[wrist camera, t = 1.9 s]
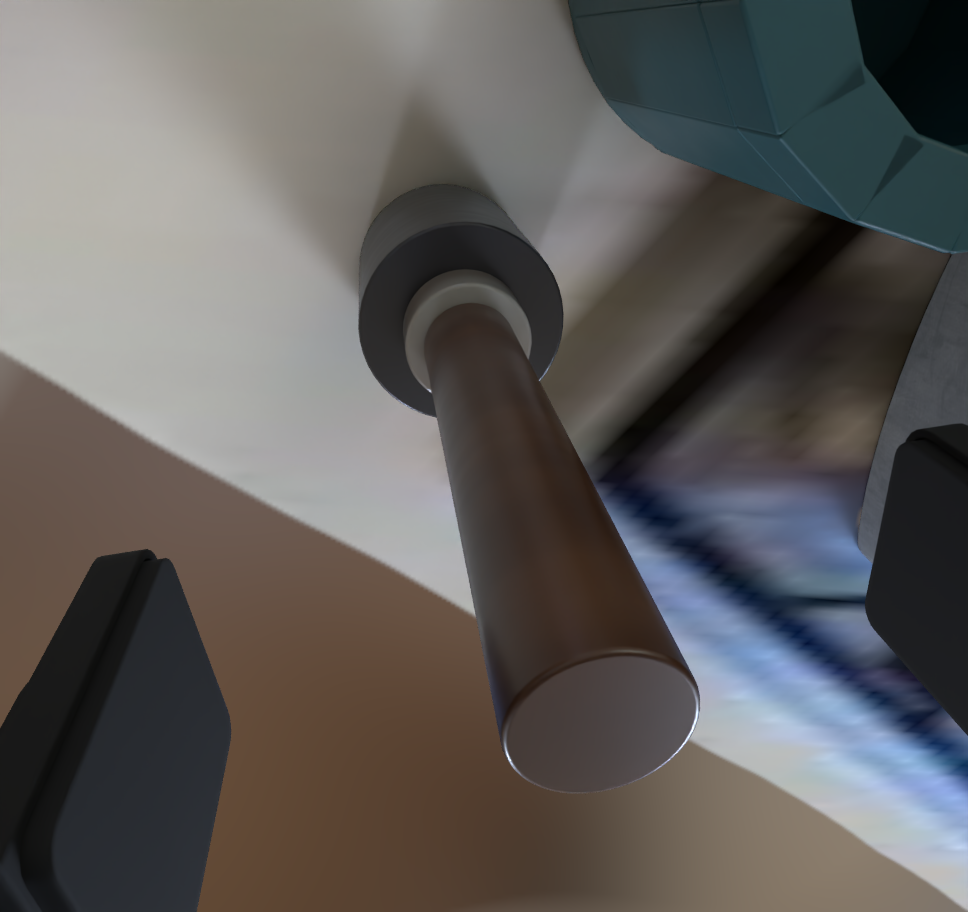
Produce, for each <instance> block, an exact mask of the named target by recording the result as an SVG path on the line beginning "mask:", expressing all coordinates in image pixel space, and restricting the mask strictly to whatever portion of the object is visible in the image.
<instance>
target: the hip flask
mask: <svg viewBox="0 0 968 912" xmlns="http://www.w3.org/2000/svg"><path fill="white" fill-rule="evenodd" d="M958 423H963V424H965V425H968V252H964V253H957V254H952V256H951V258H950V260H949V262H948V264H947V266H946V268H945V270H944V272H943V274H942V276H941V279H940V281H939V283H938V285H937V287H936V290H935V292H934V294H933V296H932V299H931V301H930V303H929V305H928V307H927V310H926V312H925V314H924V317H923V319H922V322H921V324H920V326H919V329H918V331H917V334H916V336H915V339H914V341H913V344H912V346H911V349H910V351H909V354H908V357H907V359H906V362H905V365H904V367H903V370H902V373H901V375H900V378H899V381H898V384H897V386H896V389H895V392H894V395H893V398H892V400H891V403H890V406H889V409H888V412H887V415H886V418H885V422H884V425H883V428H882V431H881V434H880V437H879V441H878V445H877V448H876V452H875V455H874V459H873V463H872V467H871V471H870V475H869V479H868V483H867V487H866V492H865V497H864V503H863V508H862V513H861V519H860V526H859V532H858V546H859V549H860V551H861V552H862V554H863V555H864V556H865V557H866V558H867V559H868V560H869V561H870V562H871V563H872V564H873V560H874V555H875V550H876V545H877V540H878V535H879V531H880V526H881V521H882V516H883V511H884V506H885V501H886V496H887V491H888V486H889V481H890V476H891V471H892V466H893V461H894V456H895V453H896V450H897V448H898V447H899V446H900V445H901V444H903V443H905V442H906V439H907V437H908V436H909V435H910V433H911V432H913V431H915V430H917V429H924V428H930V427H936V426H943V425H949V424H958Z"/></svg>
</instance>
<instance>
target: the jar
mask: <svg viewBox="0 0 968 912" xmlns="http://www.w3.org/2000/svg"><path fill="white" fill-rule="evenodd" d="M568 3H569V8H570V13H571V18H572V23H573V28H574V32H575V35H576V38H577V42H578V45H579V48H580V51H581V54H582V57H583V59H584V62H585V64H586V66H587V68H588V70H589V72H590V74H591V76H592V79H593V81H594V83H595V84H596V86H597V87H598V89H599V91H600V92H601V94H602V95H603V97H604V98H605V100H606V101H607V103H608V104H609V106H610V107H611V108H612V109H613V110H614V111H615V113H616V114H617V115H618V116H619V117H620V118H621V120H622V121H623V122H624V123H625V124H626V125H628V126H629V127H630V128H631V129H632V130H633V131H634V132H636V133H637V134H638V135H639V136H640V137H641V138H643V139H644V140H646V141H648V142H649V143H651V144H652V145H653V146H654V147H655V148H656V149H657V150H660V151H661V152H662V153H665V154H668V155H671V156H673V157H676V158H679V159H681V160H684V161H687V162H690V163H692V164H695V165H698V166H700V167H703V168H706V169H708V170H711V171H714V172H717V173H719V174H722V175H725V176H727V177H730V178H733V179H735V180H738V181H741V182H744V183H746V184H749V185H752V186H754V187H757V188H760V189H763V190H765V191H768V192H771V193H773V194H776V195H779V196H781V197H784V198H787V199H790V200H792V201H795V202H798V203H800V204H803V205H806V206H809V207H812V208H814V209H817V210H819V211H822V212H825V213H828V214H830V215H833V216H836V217H838V218H841V219H844V220H846V221H849V222H852V223H855V224H858V225H860V226H863V227H866V228H869V229H872V230H875V231H878V232H881V233H884V234H887V235H890V236H893V237H896V238H899V239H902V240H905V241H908V242H911V243H914V244H917V245H920V246H923V247H926V248H929V249H932V250H935V251H938V252H941V253H951V254H957V253H964V252H968V0H568Z"/></svg>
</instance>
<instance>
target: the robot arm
mask: <svg viewBox="0 0 968 912" xmlns="http://www.w3.org/2000/svg"><path fill="white" fill-rule="evenodd" d="M865 609H866V614H867V617H868V620H869V622H870V624H871V626H872V627H873V629H874V630H875V631H876V632H877V633H878V635H879V636H880V637H881V638H882V639H883V640H884V641H885V642H886V644H887V645H888V646H889V647H890V648H891V649H892V650H893V652H894V653H895V654H896V655H897V656H898V657H899V658H900V659H901V661H902V662H903V663H904V664H905V665H906V666H907V667H908V669H909V670H910V671H911V672H912V673H913V674H914V675H915V676H916V678H917V679H918V680H919V681H920V682H921V683H922V684H923V686H924V687H925V688H926V689H927V690H928V691H929V692H930V693H931V695H932V696H933V697H934V698H935V699H936V700H937V701H938V703H939V704H940V705H941V706H942V707H943V708H944V709H945V710H946V712H947V713H948V714H949V715H950V716H951V717H952V718H953V720H954V721H955V722H956V723H957V724H958V725H959V726H960V727H961V729H962V730H963V731H964V732H965V733H966V734H967V735H968V425H965V424H963V423H958V424H949V425H943V426H936V427H930V428H924V429H917V430H915V431H913V432H911V433H910V435H909V436H908V437H907V439H906V442H905V443H903V444H901V445H900V446H899V447H898V448H897V450H896V453H895V456H894V461H893V466H892V471H891V476H890V481H889V486H888V491H887V496H886V501H885V506H884V511H883V516H882V521H881V526H880V531H879V535H878V540H877V545H876V550H875V555H874V560H873V565H872V570H871V575H870V580H869V585H868V590H867V595H866V600H865ZM230 740H231V723H230V716H229V713H228V709H227V707H226V704H225V702H224V699H223V696H222V693H221V691H220V688H219V685H218V683H217V680H216V677H215V675H214V672H213V670H212V667H211V664H210V661H209V659H208V656H207V653H206V651H205V648H204V646H203V643H202V640H201V638H200V635H199V632H198V629H197V627H196V624H195V621H194V619H193V616H192V613H191V611H190V608H189V605H188V603H187V600H186V597H185V595H184V592H183V589H182V586H181V584H180V581H179V579H178V576H177V573H176V570H175V568H174V566H173V564H172V562H171V561H170V560H169V559H167V558H164V559H157V558H156V556H155V554H154V553H153V552H152V551H151V550H148V549H145V550H138V551H132V552H125V553H119V554H112V555H106V556H101V557H98V558H97V559H96V560H95V561H94V562H93V564H92V566H91V567H90V569H89V571H88V573H87V575H86V577H85V579H84V580H83V582H82V584H81V586H80V588H79V590H78V592H77V593H76V595H75V597H74V599H73V601H72V603H71V605H70V606H69V608H68V610H67V612H66V614H65V616H64V617H63V619H62V621H61V623H60V625H59V627H58V629H57V630H56V632H55V634H54V636H53V638H52V640H51V642H50V644H49V645H48V647H47V649H46V651H45V653H44V655H43V656H42V658H41V660H40V662H39V664H38V666H37V667H36V669H35V671H34V673H33V675H32V677H31V679H30V680H29V682H28V683H27V684H26V685H25V687H24V688H23V690H22V691H21V692H20V694H19V695H18V697H17V699H16V701H15V703H14V704H13V706H12V708H11V710H10V712H9V713H8V715H7V717H6V719H5V721H4V723H3V724H2V726H1V728H0V912H197V907H198V902H199V897H200V892H201V887H202V882H203V877H204V871H205V867H206V861H207V857H208V852H209V846H210V841H211V837H212V832H213V827H214V822H215V817H216V811H217V806H218V801H219V796H220V791H221V786H222V781H223V776H224V771H225V766H226V761H227V756H228V751H229V746H230Z"/></svg>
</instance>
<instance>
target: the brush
mask: <svg viewBox="0 0 968 912" xmlns="http://www.w3.org/2000/svg"><path fill="white" fill-rule="evenodd" d="M562 329H563V305H562V298H561V294H560V290H559V287H558V284H557V282H556V280H555V277H554V275H553V273H552V271H551V270H550V268H549V266H548V264H547V263H546V262H545V261H544V259H543V258H542V257H541V256H540V254H539V253H538V252H537V251H536V249H535V248H534V247H533V246H532V245H531V243H530V242H529V241H528V240H527V239H526V237H525V236H524V235H523V234H522V233H521V231H520V230H519V229H518V228H517V227H516V225H515V224H514V223H513V222H512V221H511V219H510V218H509V217H508V216H507V214H506V213H505V212H504V211H503V210H502V209H501V208H500V207H499V206H498V205H497V204H496V203H494V202H493V201H492V200H490V199H489V198H488V197H486V196H484V195H482V194H481V193H479V192H477V191H474V190H471V189H469V188H466V187H461V186H457V185H448V184H439V185H429V186H424V187H420V188H417V189H414V190H411V191H409V192H407V193H405V194H403V195H401V196H399V197H398V198H397V199H395V200H394V201H392V202H391V203H390V204H389V205H388V206H386V207H385V208H384V209H383V210H382V211H381V212H380V214H379V215H378V216H377V217H376V218H375V220H374V222H373V223H372V225H371V226H370V228H369V230H368V232H367V234H366V237H365V239H364V242H363V246H362V249H361V255H360V266H359V337H360V343H361V347H362V351H363V354H364V357H365V359H366V362H367V364H368V366H369V368H370V370H371V371H372V373H373V375H374V377H375V378H376V379H377V380H378V382H379V383H380V384H381V386H382V387H383V388H384V389H385V390H386V391H387V392H388V393H389V394H390V395H391V396H393V397H394V398H395V399H397V400H398V401H399V402H401V403H402V404H404V405H406V406H407V407H409V408H411V409H413V410H415V411H418V412H420V413H422V414H425V415H429V416H433V417H436V418H437V421H438V426H439V431H440V436H441V441H442V446H443V451H444V456H445V461H446V466H447V471H448V476H449V482H450V487H451V492H452V497H453V502H454V507H455V512H456V517H457V522H458V527H459V532H460V537H461V542H462V548H463V553H464V558H465V563H466V568H467V573H468V578H469V583H470V588H471V593H472V598H473V603H474V608H475V614H476V618H477V623H478V628H479V633H480V639H481V644H482V649H483V654H484V659H485V664H486V669H487V674H488V679H489V685H490V689H491V694H492V700H493V705H494V710H495V714H496V720H497V725H498V730H499V735H500V741H501V745H502V749H503V752H504V754H505V756H506V759H507V760H508V761H509V763H510V764H511V766H512V767H513V768H514V769H515V770H516V771H517V772H518V773H519V774H520V775H521V776H522V777H524V778H525V779H526V780H527V781H529V782H531V783H533V784H535V785H537V786H539V787H542V788H545V789H548V790H552V791H556V792H564V793H594V792H601V791H606V790H610V789H615V788H618V787H621V786H624V785H628V784H630V783H632V782H635V781H637V780H639V779H641V778H643V777H645V776H647V775H649V774H651V773H652V772H654V771H655V770H657V769H659V768H660V767H661V766H663V765H664V764H666V763H667V762H668V761H670V760H671V759H672V757H674V756H675V755H676V754H677V753H678V752H679V751H680V750H681V749H682V747H683V746H684V745H685V744H686V742H687V741H688V739H689V738H690V736H691V734H692V733H693V731H694V729H695V726H696V723H697V720H698V717H699V711H700V695H699V690H698V686H697V684H696V681H695V679H694V677H693V675H692V673H691V671H690V669H689V667H688V665H687V663H686V661H685V660H684V658H683V656H682V654H681V652H680V650H679V648H678V646H677V644H676V642H675V640H674V638H673V637H672V635H671V633H670V631H669V629H668V627H667V625H666V623H665V621H664V619H663V617H662V615H661V613H660V612H659V610H658V608H657V606H656V604H655V602H654V600H653V598H652V596H651V594H650V592H649V590H648V588H647V587H646V585H645V583H644V581H643V579H642V577H641V575H640V573H639V571H638V569H637V567H636V565H635V564H634V562H633V560H632V558H631V556H630V554H629V552H628V550H627V548H626V546H625V544H624V542H623V540H622V539H621V537H620V535H619V533H618V531H617V529H616V527H615V525H614V523H613V521H612V519H611V517H610V515H609V514H608V512H607V510H606V508H605V506H604V504H603V502H602V500H601V498H600V496H599V494H598V492H597V491H596V489H595V487H594V485H593V483H592V481H591V479H590V477H589V475H588V473H587V471H586V469H585V467H584V466H583V464H582V462H581V460H580V458H579V456H578V454H577V452H576V450H575V448H574V446H573V444H572V442H571V441H570V439H569V437H568V435H567V433H566V431H565V429H564V427H563V425H562V423H561V421H560V419H559V418H558V416H557V414H556V412H555V410H554V408H553V406H552V404H551V402H550V400H549V398H548V396H547V394H546V393H545V391H544V389H543V387H542V385H541V383H540V380H541V379H542V378H543V376H544V375H545V374H546V372H547V370H548V369H549V367H550V365H551V364H552V362H553V360H554V357H555V355H556V353H557V351H558V347H559V344H560V340H561V336H562Z"/></svg>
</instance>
